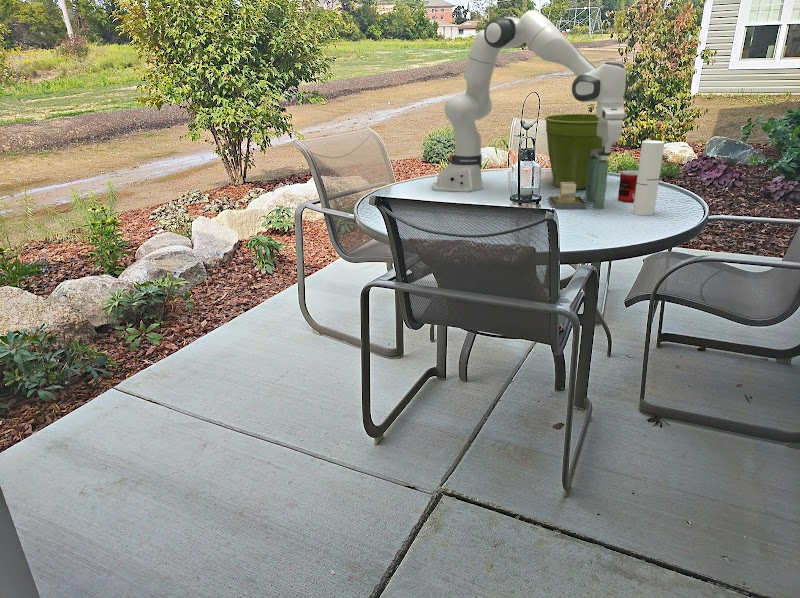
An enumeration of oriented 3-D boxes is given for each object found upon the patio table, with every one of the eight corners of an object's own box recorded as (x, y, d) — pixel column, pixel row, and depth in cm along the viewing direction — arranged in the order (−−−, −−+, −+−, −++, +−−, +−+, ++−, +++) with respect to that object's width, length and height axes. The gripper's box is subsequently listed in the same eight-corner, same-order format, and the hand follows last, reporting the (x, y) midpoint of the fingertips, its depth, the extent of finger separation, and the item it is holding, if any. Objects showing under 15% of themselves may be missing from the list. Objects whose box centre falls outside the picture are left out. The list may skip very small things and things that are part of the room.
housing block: (574, 200, 221) (576, 184, 219) (561, 200, 221) (562, 184, 219) (572, 197, 226) (573, 182, 223) (559, 197, 226) (560, 182, 224)
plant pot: (542, 178, 274) (546, 113, 263) (609, 180, 266) (617, 113, 255) (538, 191, 247) (543, 120, 236) (612, 194, 240) (621, 121, 229)
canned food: (639, 198, 231) (643, 170, 227) (637, 203, 225) (641, 174, 221) (618, 197, 235) (622, 169, 230) (616, 201, 228) (619, 173, 224)
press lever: (589, 156, 227) (589, 147, 226) (599, 156, 227) (600, 147, 225) (598, 162, 212) (599, 152, 210) (610, 162, 211) (611, 152, 210)
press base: (552, 209, 219) (556, 163, 213) (546, 198, 235) (549, 155, 228) (605, 209, 218) (610, 162, 211) (594, 198, 233) (599, 155, 227)
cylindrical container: (655, 215, 207) (666, 143, 198) (634, 215, 209) (643, 143, 199) (651, 210, 214) (662, 140, 204) (631, 210, 215) (640, 140, 206)
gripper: (594, 110, 217) (590, 148, 222) (607, 114, 198) (603, 156, 203) (611, 109, 216) (608, 148, 221) (626, 113, 197) (622, 155, 202)
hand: (605, 151), depth 212 cm, fingers closed on press lever, 2 cm apart
